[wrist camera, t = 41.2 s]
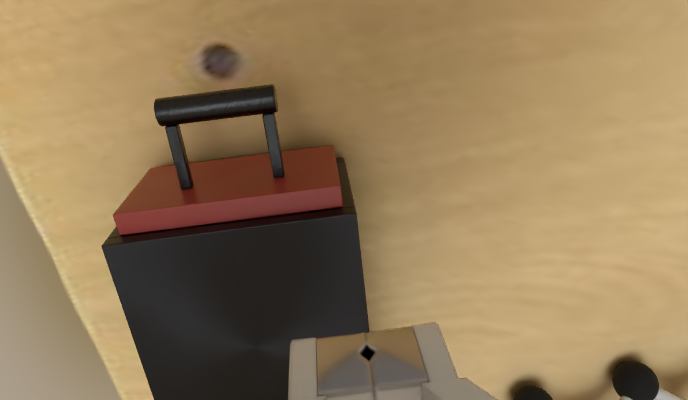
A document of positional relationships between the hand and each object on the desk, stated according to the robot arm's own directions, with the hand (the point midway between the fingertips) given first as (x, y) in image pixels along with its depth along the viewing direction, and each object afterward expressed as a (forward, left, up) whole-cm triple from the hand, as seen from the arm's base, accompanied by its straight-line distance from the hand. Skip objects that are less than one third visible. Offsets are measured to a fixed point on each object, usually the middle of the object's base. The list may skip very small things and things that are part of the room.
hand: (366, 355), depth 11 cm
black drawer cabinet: (+11, -6, -23) cm, 26 cm away
